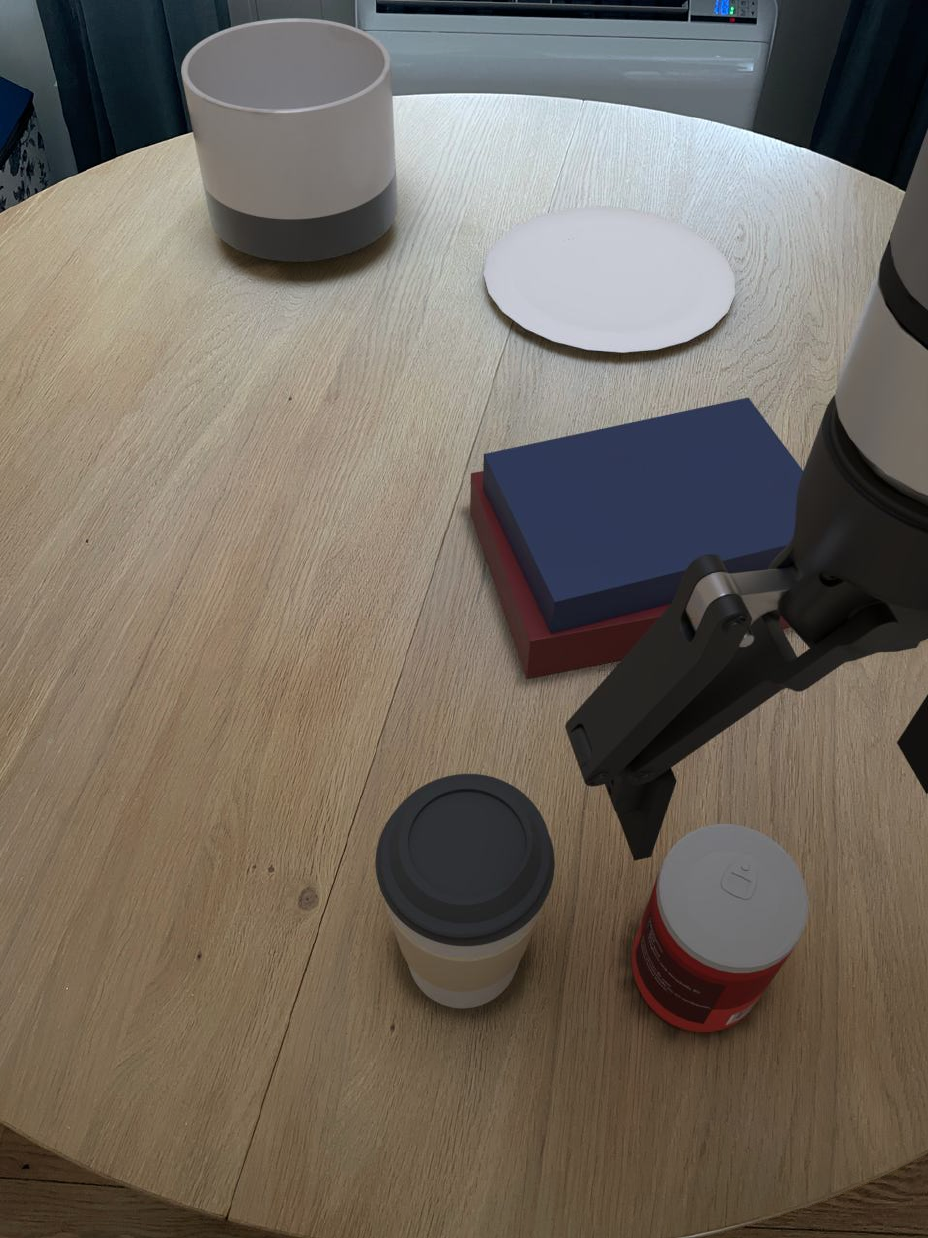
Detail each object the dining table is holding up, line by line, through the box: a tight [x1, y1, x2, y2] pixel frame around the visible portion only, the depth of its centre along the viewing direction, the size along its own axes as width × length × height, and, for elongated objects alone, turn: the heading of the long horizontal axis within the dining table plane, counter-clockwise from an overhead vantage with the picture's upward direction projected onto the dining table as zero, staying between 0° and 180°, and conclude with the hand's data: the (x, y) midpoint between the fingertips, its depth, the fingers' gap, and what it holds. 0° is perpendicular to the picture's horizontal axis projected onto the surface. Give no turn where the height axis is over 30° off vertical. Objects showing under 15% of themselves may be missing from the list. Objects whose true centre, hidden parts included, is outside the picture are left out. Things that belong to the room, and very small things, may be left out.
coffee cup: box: [375, 773, 556, 1009], centre depth 56 cm, size 9×9×15 cm
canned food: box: [631, 823, 809, 1033], centre depth 57 cm, size 8×8×11 cm
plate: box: [483, 205, 736, 355], centre depth 104 cm, size 25×25×2 cm
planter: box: [180, 17, 398, 263], centre depth 103 cm, size 19×19×18 cm
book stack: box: [469, 397, 804, 680], centre depth 78 cm, size 17×24×8 cm
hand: (778, 798), depth 46 cm, fingers open, 13 cm apart
